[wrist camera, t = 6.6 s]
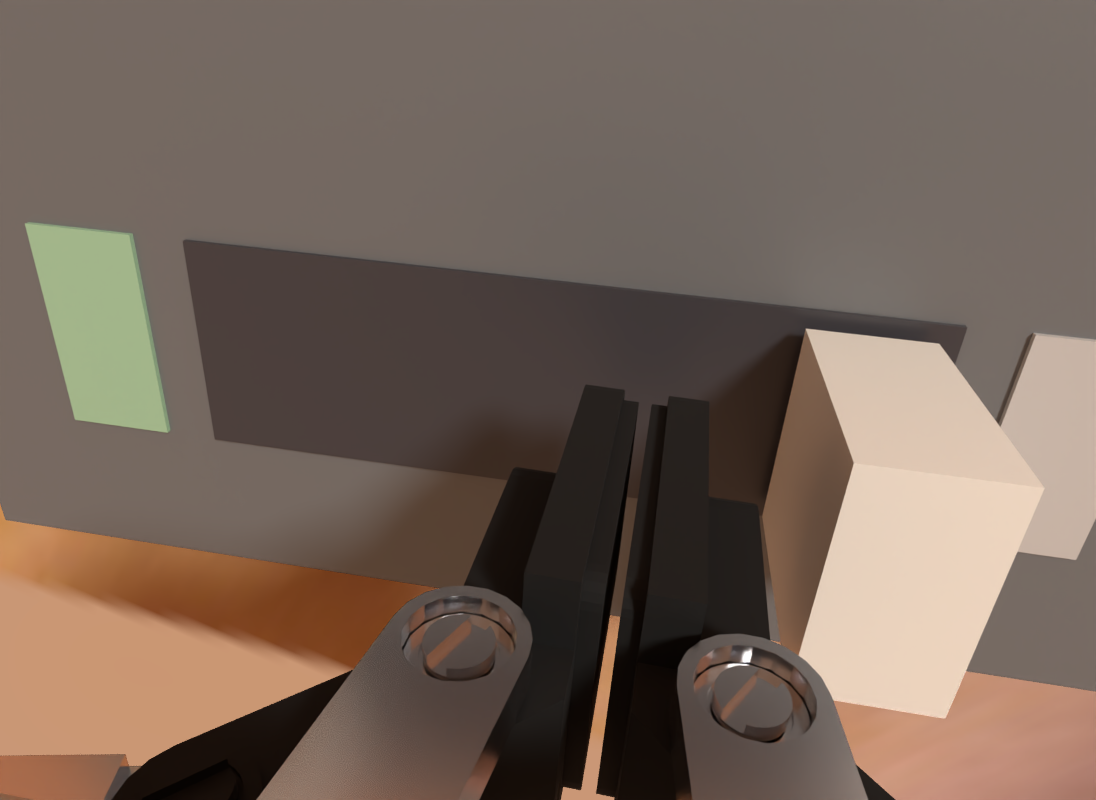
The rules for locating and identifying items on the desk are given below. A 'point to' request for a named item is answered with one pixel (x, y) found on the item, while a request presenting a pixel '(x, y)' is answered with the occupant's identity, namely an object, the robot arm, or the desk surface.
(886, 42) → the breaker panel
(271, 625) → the desk surface
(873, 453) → the block
